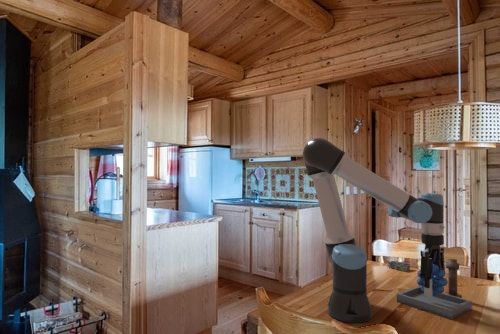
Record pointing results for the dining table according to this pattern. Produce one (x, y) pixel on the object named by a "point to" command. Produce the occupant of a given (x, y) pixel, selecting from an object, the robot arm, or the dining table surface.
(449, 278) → the post
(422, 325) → the dining table surface
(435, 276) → the grapes
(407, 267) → the egg carton
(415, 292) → the holder tray
